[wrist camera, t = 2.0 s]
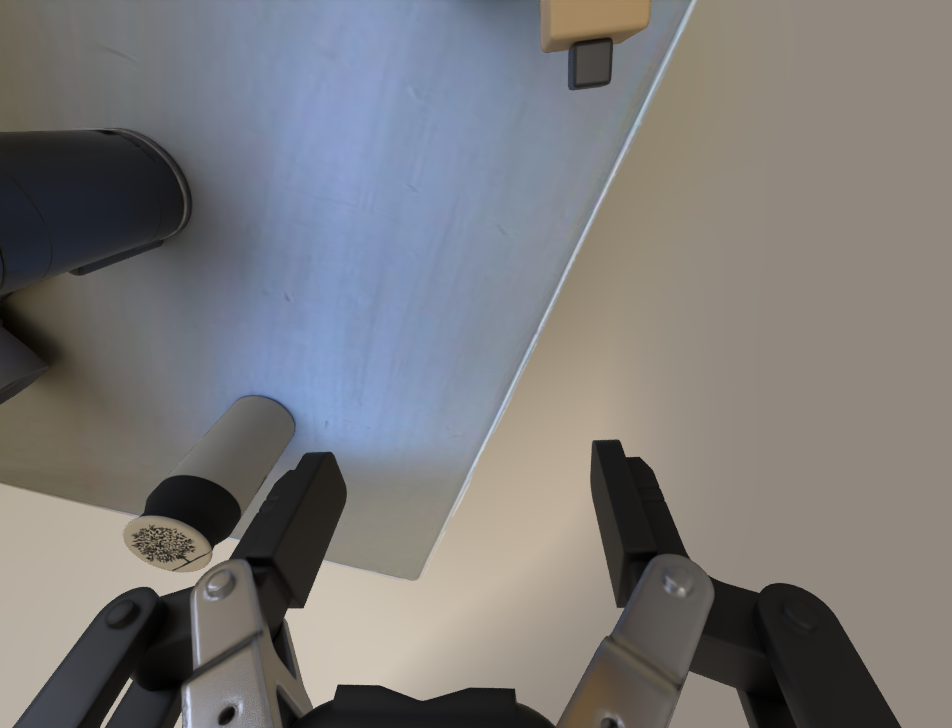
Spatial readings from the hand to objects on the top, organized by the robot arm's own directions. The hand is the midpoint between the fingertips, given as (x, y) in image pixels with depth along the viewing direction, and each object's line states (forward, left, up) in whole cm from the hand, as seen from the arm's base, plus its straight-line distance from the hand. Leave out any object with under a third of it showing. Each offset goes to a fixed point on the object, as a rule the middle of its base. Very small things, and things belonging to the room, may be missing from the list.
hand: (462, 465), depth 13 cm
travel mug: (-35, +10, -31) cm, 47 cm away
